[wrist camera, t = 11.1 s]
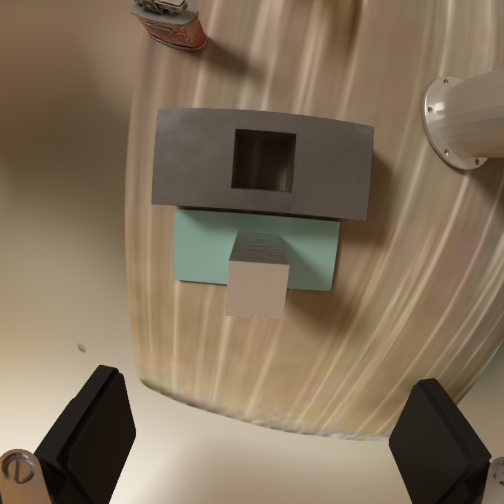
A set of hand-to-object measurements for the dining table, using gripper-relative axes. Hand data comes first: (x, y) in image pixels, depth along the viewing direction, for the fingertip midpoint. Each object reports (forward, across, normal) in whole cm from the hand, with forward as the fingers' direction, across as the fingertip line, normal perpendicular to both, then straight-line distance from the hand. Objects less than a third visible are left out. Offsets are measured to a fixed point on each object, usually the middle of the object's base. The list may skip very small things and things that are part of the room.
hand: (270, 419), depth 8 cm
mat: (+26, 0, +1) cm, 26 cm away
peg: (+26, 0, +1) cm, 26 cm away
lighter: (+26, +11, -24) cm, 37 cm away
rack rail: (+26, 0, -8) cm, 28 cm away
